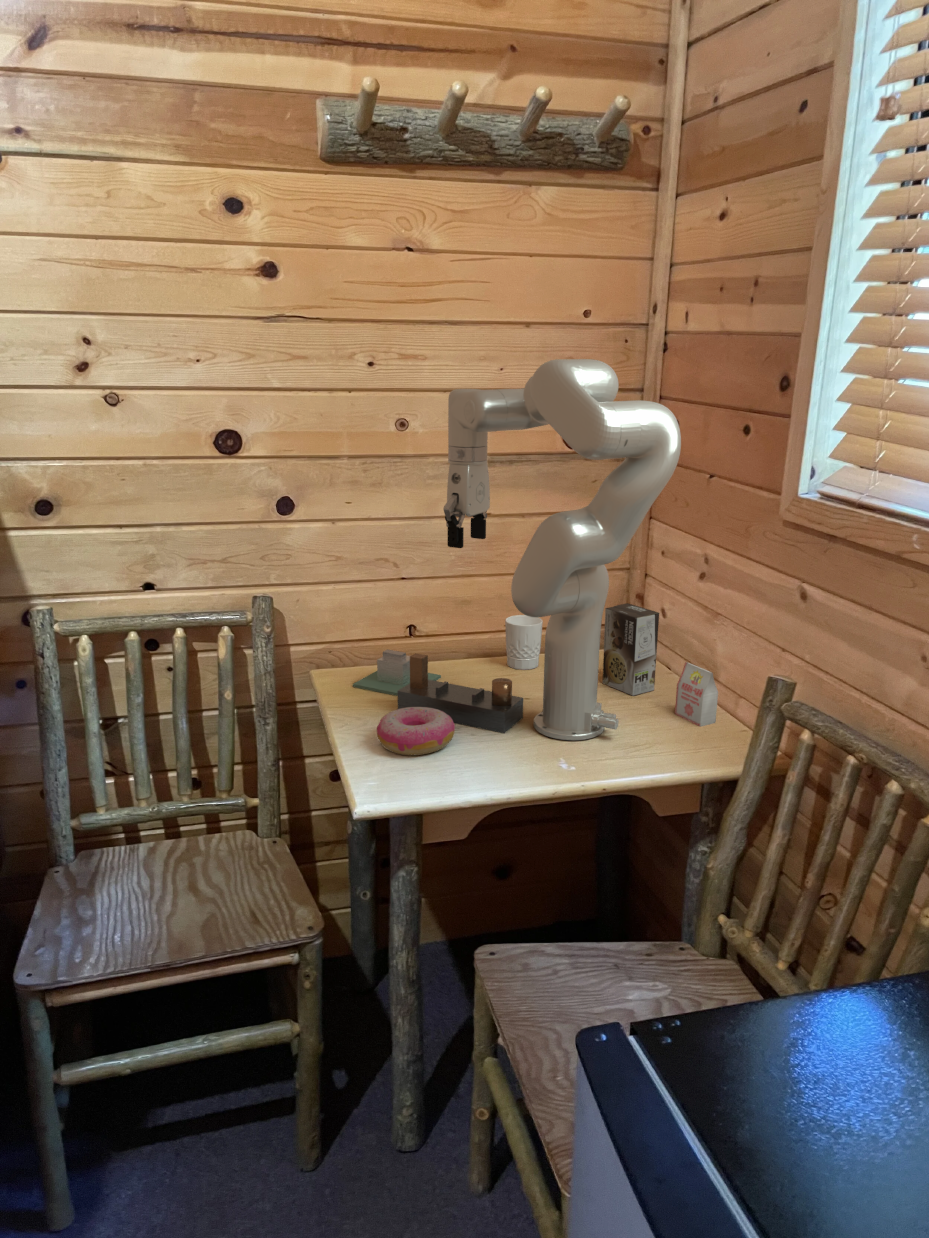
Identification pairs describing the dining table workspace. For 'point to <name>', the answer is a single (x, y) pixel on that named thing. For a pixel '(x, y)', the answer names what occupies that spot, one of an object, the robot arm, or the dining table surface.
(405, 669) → the lever cap
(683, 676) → the white gable carton
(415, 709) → the donut
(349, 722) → the dining table surface
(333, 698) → the dining table surface
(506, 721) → the plane body
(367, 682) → the rubber mat
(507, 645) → the white cup
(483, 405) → the robot arm
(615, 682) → the coffee box
